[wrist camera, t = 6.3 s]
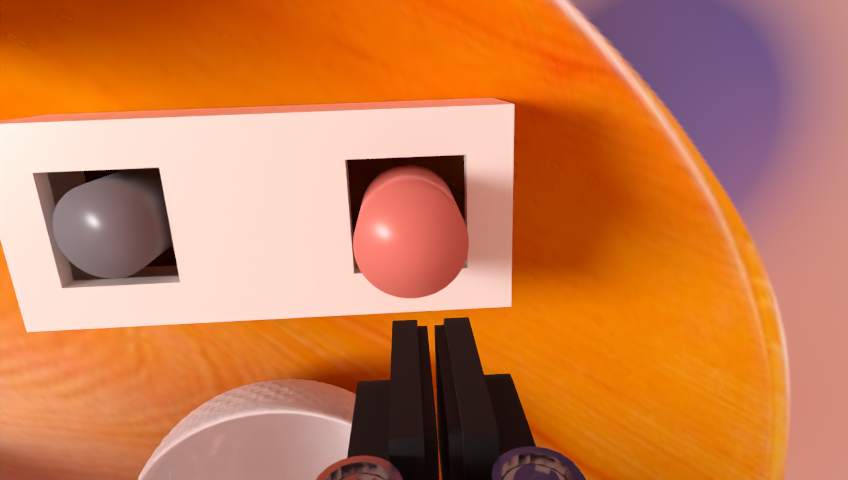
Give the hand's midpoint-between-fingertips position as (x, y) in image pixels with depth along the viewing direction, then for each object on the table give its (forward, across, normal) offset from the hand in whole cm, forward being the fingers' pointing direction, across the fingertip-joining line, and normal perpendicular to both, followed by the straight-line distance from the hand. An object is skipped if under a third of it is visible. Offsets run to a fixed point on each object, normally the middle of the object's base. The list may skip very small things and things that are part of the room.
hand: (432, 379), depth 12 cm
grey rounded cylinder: (+20, +14, 0) cm, 24 cm away
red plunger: (+16, 0, 0) cm, 16 cm away
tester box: (+20, +7, 0) cm, 22 cm away
